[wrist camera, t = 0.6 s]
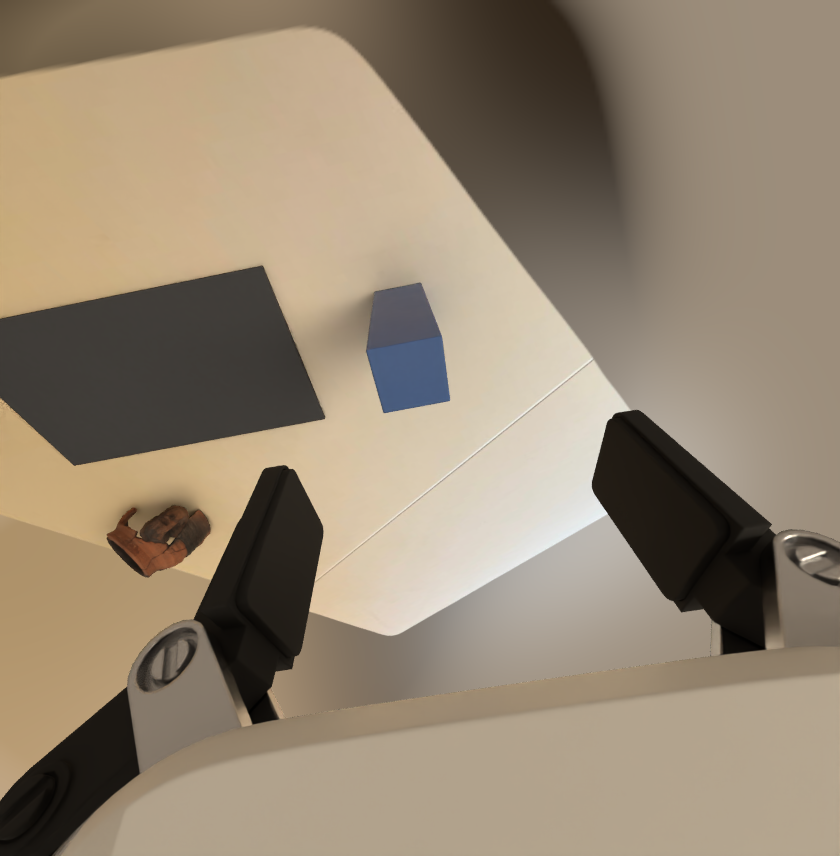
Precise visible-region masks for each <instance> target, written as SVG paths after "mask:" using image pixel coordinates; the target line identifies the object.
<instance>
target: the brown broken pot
mask: <svg viewBox="0 0 840 856" xmlns="http://www.w3.org/2000/svg"><path fill="white" fill-rule="evenodd" d="M136 512H137V509H135V508H132V509H131V510H129V511H127V513H126V514H125V515H123V516H122V518H121V519H120V521H119V522H118V524H117V527H116V529H115V530H114V531H112V532H110V533H108V534H107V536H108V537H107V540H108V543H109V544H110V546H111V547H112V548H113V550H114V551H115V552H116V553H117V554H118V555H119V556H120V557H121V558H122V559H123V560H124V561H125V562H126V563H127V564H128V565H129V566H130V567H131V568H132V569H134V571H136V572H138V573H139V574H140V575H142V576H144V577H150V576H151V575H152V574H153V573H155V572H156V571H158V570H160V571H161V570H164V569H167V568H170V567H173V566H176V565H177V564H178V563H181V562H182V561H183V559H184V558H185V557H187V556H188V555H190V554H191V553H192V551H194V550H195V548H196V547H198V546H199V545H201V544H202V543H203V541H204V539H205V538H206V537H207V536H208V535H209V534H210V524H209V523H208V520H207V518H206V517H205V516H204V515H203V513H202V512H201V511H200V510H197V511H196V512H195V513H194V515H193V516H191V517H190V518H189V515H188V511H187V509H186V508H184V507H181V506H176V505H173V506H171V507H170V508H167V509H166V510H165V511H164V512H162V513H161V514H160V515H159V516H156V517H154V518H153V519H151V520H150V521H148V522H146V523H145V525H144V526H143V528H142V529H141V530H140V536H141V537H142V538H139V537H136V535H137V533H138V532H137V531H135V530H133V529H131V528H130V527H128V520H129V519H130V518H131V517H132V516H133V515H134V514H135V513H136ZM188 518H189V519H188ZM170 537H174V538H175V539H174V540H173V542H172V543H171V544H170V545H168V544H167V543H166V542H167V541H168V540H169V538H170Z"/></svg>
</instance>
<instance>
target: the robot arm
mask: <svg viewBox="0 0 840 856" xmlns="http://www.w3.org/2000/svg"><path fill="white" fill-rule="evenodd" d="M592 489H593V492H594V494H595V496H596V497H597V499H598V500H599V501H600V503H601V504H602V506H603V507H604V509H605V510H606V512H607V513H608V515H609V516H610V518H611V519H612V520H613V522H614V523H615V525H616V526H617V528H618V529H619V531H620V532H621V534H622V535H623V537H624V538H625V539H626V541H627V542H628V544H629V545H630V547H631V548H632V549H633V551H634V553H635V554H636V556H637V557H638V558H639V560H640V561H641V563H642V564H643V566H644V567H645V569H646V570H647V572H648V573H649V575H650V576H651V578H652V579H653V580H654V582H655V583H656V585H657V586H658V588H659V589H660V591H661V592H662V593H663V595H664V596H665V597H666V598H667V599H669V600H671V601H674V603H675V604H676V605H677V607H678V608H679V610H680V611H681V612H686V611H693V610H700V609H704V610H705V611H706V612H707V614H708V615H709V616H710V618H711V619H712V622H711V623H712V624H711V651H710V652H711V654H710V657H701V658H694V659H687V660H679V661H672V662H665V663H658V664H651V665H644V666H636V667H629V668H622V669H615V670H607V671H600V672H593V673H586V674H579V675H572V676H565V677H558V678H551V679H544V680H537V681H530V682H523V683H516V684H509V685H502V686H495V687H488V688H481V689H474V690H467V691H460V692H453V693H446V694H439V695H433V696H426V697H420V698H412V699H406V700H400V701H392V702H386V703H379V704H373V705H366V706H359V707H352V708H345V709H338V710H333V711H327V712H321V713H315V714H309V715H304V716H297V717H292V718H285V716H284V714H283V712H282V709H281V708H280V705H279V703H278V701H277V699H276V697H275V695H274V693H273V691H272V689H271V687H272V683H273V679H274V675H275V672H276V671H282V670H288V669H292V667H293V662H294V657H295V656H297V655H299V653H300V651H301V649H302V644H303V639H304V634H305V629H306V623H307V618H308V613H309V608H310V602H311V597H312V592H313V587H314V581H315V576H316V571H317V566H318V561H319V555H320V550H321V545H322V540H323V526H322V523H321V521H320V519H319V517H318V515H317V513H316V511H315V509H314V507H313V505H312V503H311V501H310V499H309V497H308V495H307V493H306V492H305V490H304V488H303V486H302V484H301V482H300V480H299V478H298V476H297V474H296V472H295V470H293V469H289V468H288V467H287V466H286V465H282V466H276V467H270V468H265V469H264V470H263V472H262V474H261V476H260V478H259V480H258V482H257V485H256V487H255V489H254V491H253V493H252V496H251V498H250V500H249V502H248V504H247V507H246V509H245V511H244V513H243V516H242V518H241V519H240V520H239V522H238V524H237V526H236V528H235V530H234V532H233V534H232V536H231V539H230V541H229V543H228V545H227V547H226V550H225V552H224V554H223V556H222V558H221V561H220V563H219V565H218V567H217V569H216V571H215V574H214V576H213V578H212V580H211V583H210V585H209V587H208V589H207V591H206V593H205V596H204V598H203V600H202V602H201V605H200V606H199V609H198V611H197V613H196V615H195V617H194V620H182V621H180V622H177V623H174V624H172V625H170V626H169V627H167V628H165V629H164V630H162V631H161V632H160V633H158V634H157V635H156V636H155V637H154V638H153V639H151V640H150V641H149V642H148V644H147V645H146V646H145V647H144V648H143V649H142V651H141V652H140V653H139V655H138V657H137V658H136V660H135V662H134V663H133V665H132V667H131V670H130V673H129V676H128V684H127V687H126V688H125V689H124V690H123V691H121V692H120V693H119V694H118V695H117V696H116V697H114V698H113V699H112V700H111V701H109V702H108V703H107V704H106V705H105V706H104V707H102V708H101V709H100V710H99V711H98V712H97V713H95V714H94V715H93V716H92V717H91V718H89V719H88V720H87V721H86V722H85V723H83V724H82V725H81V726H80V727H79V728H78V729H76V730H75V731H74V732H73V733H72V734H70V735H69V736H68V737H67V738H66V739H65V740H63V741H62V742H61V743H60V744H59V745H57V746H56V747H55V748H54V749H53V750H52V751H50V752H49V753H48V754H47V755H46V756H44V757H43V758H42V759H41V760H40V761H39V762H37V763H36V764H35V765H34V766H33V767H31V768H30V769H29V770H28V771H27V772H26V773H25V774H24V775H23V776H22V777H21V778H20V779H19V780H18V781H17V782H16V783H15V784H14V785H13V786H12V787H11V788H10V790H9V791H8V792H7V793H6V794H5V796H4V797H3V798H2V799H1V801H0V856H840V542H838V541H836V540H834V539H832V538H829V537H827V536H824V535H821V534H818V533H814V532H810V531H805V530H792V529H791V530H785V531H781V532H779V533H778V534H777V535H776V534H774V533H773V532H772V531H771V530H770V529H769V527H770V526H771V525H772V524H771V523H770V522H769V521H767V520H766V519H765V518H764V517H762V515H760V514H759V513H758V512H757V511H756V510H755V509H753V508H752V507H751V506H750V505H749V504H748V503H747V502H745V501H744V500H743V499H742V498H741V497H740V496H738V495H737V494H736V493H735V492H734V491H733V490H731V489H730V488H729V487H728V486H727V485H726V484H725V483H723V482H722V481H721V480H720V479H719V478H717V477H716V476H715V475H714V474H713V473H712V472H711V471H709V470H708V469H707V468H706V467H705V466H704V465H703V464H701V463H700V462H699V461H698V460H697V459H696V458H694V457H693V456H692V455H691V454H690V453H689V452H688V451H686V450H685V449H684V448H683V447H682V446H681V445H679V444H678V443H677V442H676V441H675V440H674V439H673V438H671V437H670V436H669V435H668V434H667V433H665V432H664V431H663V430H662V429H661V428H660V427H659V426H657V425H656V424H655V423H654V422H653V421H652V420H651V419H649V418H648V417H647V416H646V415H645V414H644V413H642V412H641V411H639V410H632V411H626V412H619V413H616V414H614V415H613V417H612V419H609V420H608V422H607V425H606V429H605V433H604V437H603V441H602V445H601V449H600V453H599V456H598V460H597V464H596V468H595V472H594V476H593V480H592Z"/></svg>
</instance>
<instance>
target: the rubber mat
mask: <svg viewBox="0 0 840 856" xmlns="http://www.w3.org/2000/svg"><path fill="white" fill-rule="evenodd" d="M0 398H1V399H2V400H4V401H5V402H6V403H7V404H8V405H9V406H10V407H11V408H12V409H13V410H14V411H15V412H17V413H18V414H19V415H20V416H21V417H22V418H23V419H24V420H25V421H26V422H27V423H28V424H30V425H31V426H32V427H33V428H34V429H35V430H36V431H37V432H38V433H39V434H40V435H41V436H43V437H44V438H45V439H46V440H47V441H48V442H49V443H50V444H51V445H52V446H53V447H55V448H56V449H57V450H58V451H59V452H60V453H61V454H62V455H63V456H64V457H65V458H66V459H68V460H69V461H70V462H71V463H72V464H73V465H74V466H75V465H81V464H86V463H91V462H97V461H102V460H107V459H113V458H118V457H124V456H129V455H134V454H140V453H145V452H150V451H156V450H161V449H166V448H172V447H177V446H182V445H188V444H193V443H199V442H204V441H209V440H215V439H220V438H225V437H231V436H236V435H241V434H247V433H252V432H257V431H263V430H268V429H274V428H279V427H284V426H290V425H295V424H300V423H306V422H311V421H316V420H322V419H325V416H324V413H323V411H322V408H321V406H320V404H319V401H318V399H317V396H316V394H315V391H314V389H313V387H312V384H311V382H310V379H309V377H308V374H307V372H306V370H305V367H304V365H303V362H302V360H301V357H300V355H299V353H298V350H297V348H296V345H295V343H294V341H293V338H292V336H291V333H290V331H289V328H288V326H287V324H286V321H285V319H284V316H283V314H282V311H281V309H280V307H279V304H278V302H277V299H276V297H275V294H274V292H273V290H272V287H271V285H270V282H269V280H268V277H267V275H266V273H265V270H264V268H263V266H259V267H254V268H249V269H244V270H239V271H234V272H229V273H224V274H219V275H214V276H209V277H204V278H199V279H195V280H190V281H185V282H180V283H175V284H170V285H165V286H160V287H155V288H150V289H145V290H140V291H135V292H130V293H125V294H120V295H115V296H111V297H106V298H101V299H96V300H91V301H86V302H81V303H76V304H71V305H66V306H61V307H56V308H51V309H46V310H41V311H36V312H31V313H27V314H22V315H17V316H12V317H7V318H2V319H0Z"/></svg>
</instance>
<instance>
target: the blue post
mask: <svg viewBox="0 0 840 856" xmlns="http://www.w3.org/2000/svg"><path fill="white" fill-rule="evenodd" d="M366 352H367V356H368V359H369V363H370V366H371V370H372V374H373V377H374V381H375V384H376V388H377V391H378V395H379V399H380V402H381V406H382V409H383V412H384V413H388V412H393V411H398V410H404V409H409V408H415V407H420V406H425V405H431V404H436V403H441V402H447V401H450V395H449V387H448V379H447V372H446V364H445V356H444V349H443V341H442V335H441V333H440V330H439V328H438V325H437V323H436V320H435V317H434V315H433V312H432V310H431V307H430V305H429V302H428V300H427V297H426V294H425V292H424V289H423V287H422V284H421V283H417V284H412V285H407V286H402V287H397V288H392V289H387V290H381V291H376V292H374V298H373V305H372V312H371V320H370V327H369V334H368V341H367V349H366Z"/></svg>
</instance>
